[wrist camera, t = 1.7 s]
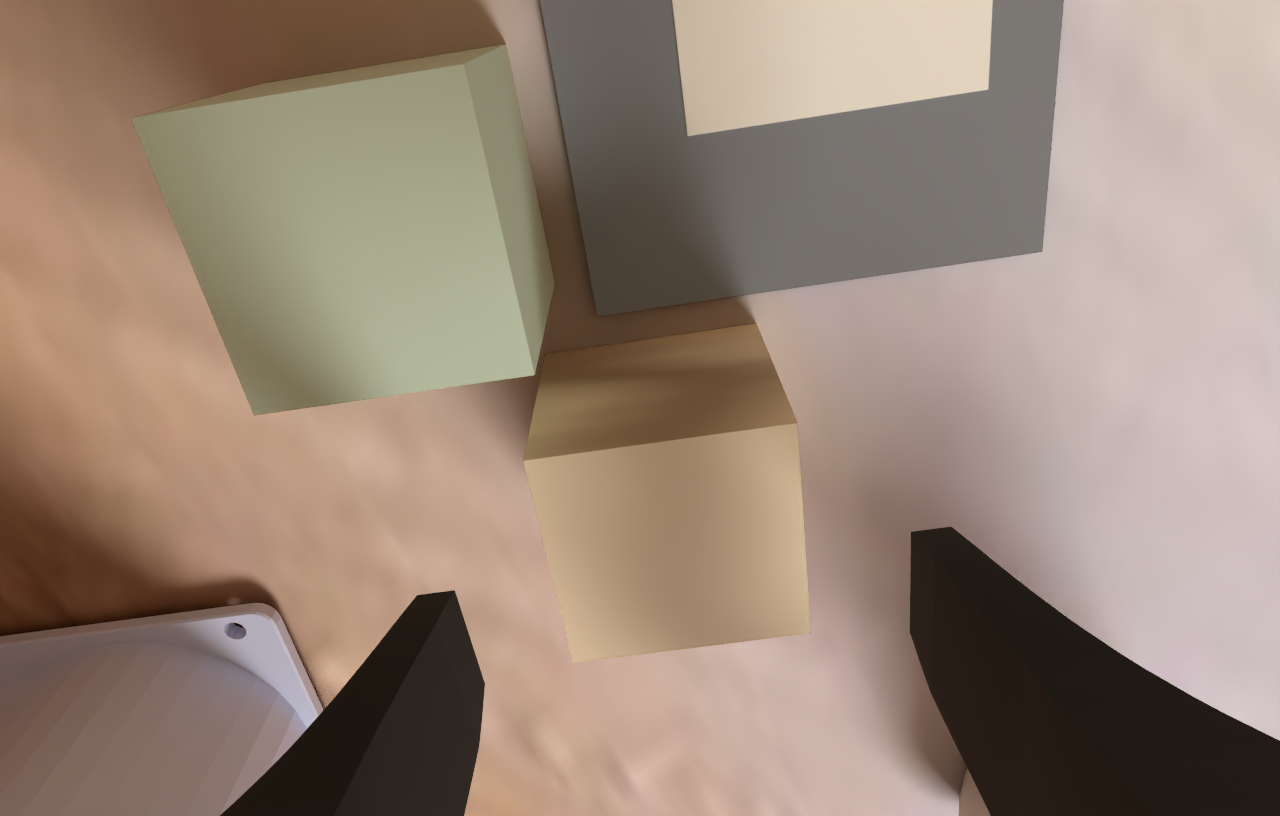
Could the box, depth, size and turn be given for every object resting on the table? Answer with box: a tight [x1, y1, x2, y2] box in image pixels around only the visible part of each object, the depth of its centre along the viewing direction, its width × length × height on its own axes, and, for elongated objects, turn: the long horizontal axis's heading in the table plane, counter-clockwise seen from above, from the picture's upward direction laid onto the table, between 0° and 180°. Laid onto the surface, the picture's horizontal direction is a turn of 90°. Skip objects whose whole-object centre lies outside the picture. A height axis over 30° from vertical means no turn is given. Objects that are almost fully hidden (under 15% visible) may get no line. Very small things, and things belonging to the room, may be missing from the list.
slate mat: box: [540, 0, 1064, 317], centre depth 14 cm, size 9×10×1 cm
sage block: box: [131, 44, 555, 415], centre depth 14 cm, size 4×4×4 cm
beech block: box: [523, 323, 811, 663], centre depth 16 cm, size 4×4×4 cm
